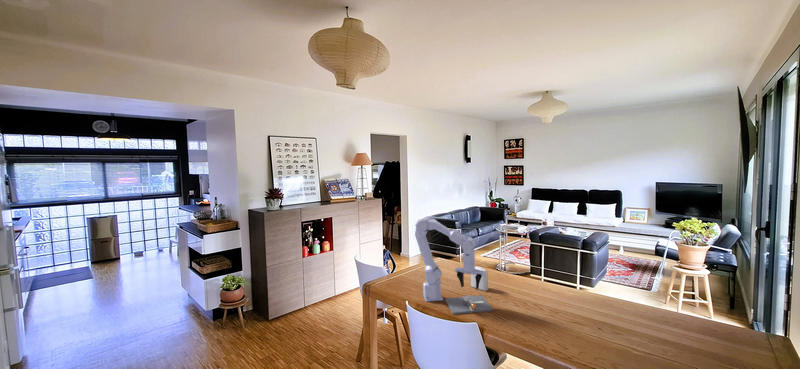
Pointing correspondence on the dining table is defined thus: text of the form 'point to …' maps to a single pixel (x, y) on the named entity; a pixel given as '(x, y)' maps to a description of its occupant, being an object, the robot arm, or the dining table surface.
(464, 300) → the lever with ball knob
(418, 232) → the robot arm
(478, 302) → the lock plate
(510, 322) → the dining table surface
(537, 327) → the dining table surface
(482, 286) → the photo printer
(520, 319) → the dining table surface
